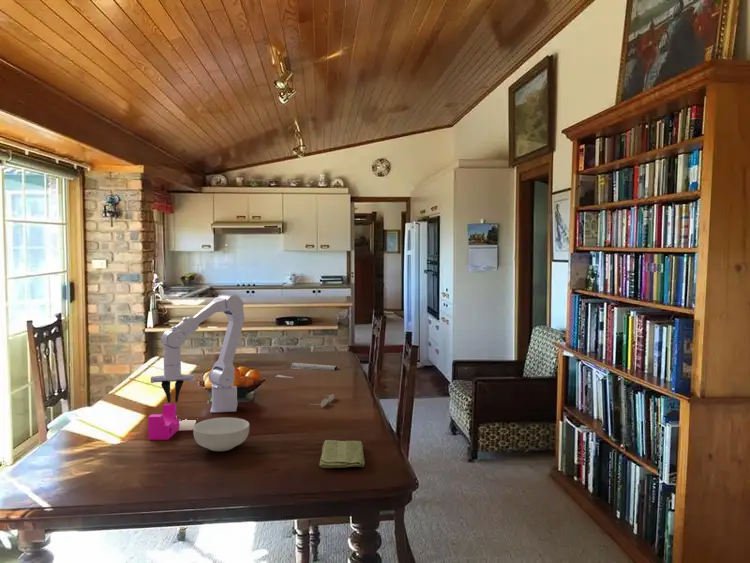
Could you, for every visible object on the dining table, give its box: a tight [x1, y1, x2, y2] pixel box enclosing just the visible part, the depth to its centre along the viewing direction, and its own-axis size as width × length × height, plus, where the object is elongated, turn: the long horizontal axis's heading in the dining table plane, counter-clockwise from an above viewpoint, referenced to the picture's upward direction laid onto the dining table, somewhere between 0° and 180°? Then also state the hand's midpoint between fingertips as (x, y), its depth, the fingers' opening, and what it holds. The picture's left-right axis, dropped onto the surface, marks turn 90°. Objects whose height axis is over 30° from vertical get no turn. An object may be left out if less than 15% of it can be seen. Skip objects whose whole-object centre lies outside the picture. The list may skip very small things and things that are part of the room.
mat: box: [275, 362, 338, 379], centre depth 270 cm, size 23×24×5 cm
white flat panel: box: [177, 419, 197, 432], centre depth 200 cm, size 14×20×1 cm
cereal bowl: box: [192, 416, 250, 452], centre depth 175 cm, size 17×17×7 cm
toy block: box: [147, 403, 179, 441], centre depth 189 cm, size 15×6×8 cm, turn 0°
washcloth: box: [318, 439, 366, 469], centre depth 167 cm, size 13×18×3 cm
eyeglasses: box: [303, 393, 336, 409], centre depth 222 cm, size 14×8×4 cm, turn 162°
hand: (173, 401), depth 201 cm, fingers closed
